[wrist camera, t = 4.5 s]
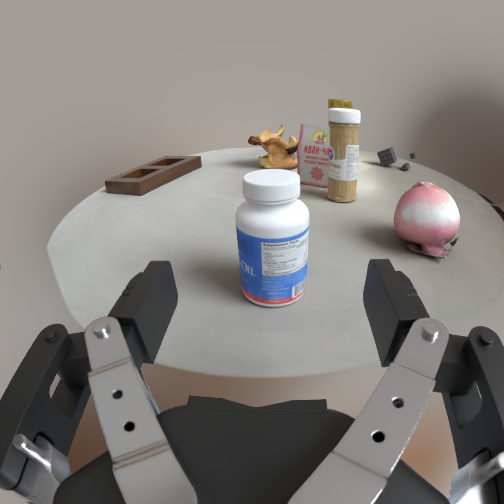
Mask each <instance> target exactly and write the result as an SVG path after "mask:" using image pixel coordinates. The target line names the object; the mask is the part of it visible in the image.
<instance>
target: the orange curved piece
mask: <svg viewBox="0 0 504 504" xmlns="http://www.w3.org/2000/svg"><path fill="white" fill-rule="evenodd" d="M283 131H284V126H283V125H281V126H280V127H279V129H278V132H277V133H276V134H274V133H272V132H271V129H266V130H264V131H263V132H262V133H261V134H260V138H259V137H258V136H251V137H250V138H249V140H248V143H249V144H252V145H261V146H262V147H263V148H264V150H265V151H267V152H268V155H267V156H263V157H259V160H260V164H261V167H263V168H266V169H284V170H290V169H295V168H297V167H298V166H297V165H298V164H297V161H296V160H295V157H294V155H293V153H294V152H296V151H297V149H298V143H299V142H297V140H296V139H295V138H294V137H293V136H291V137H289V143H287V142H285V141H284V140H282V138H281V137H282V134H283Z"/></svg>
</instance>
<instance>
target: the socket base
mask: <svg viewBox="0 0 504 504" xmlns="http://www.w3.org/2000/svg"><path fill="white" fill-rule="evenodd" d="M200 167H202V165H201V156H165V157H162V158H160V159H157V160H155V161H152V162H149V163H147V164H144V165H142V166H139V167H137V168H134V169H132V170H130V171H127V172H125V173H122V174H120V175H118V176H115V177H113V178H111V179H108V180H106V181H105V185H106V190H107V193H118V194H130V195H143V194H145V193H147V192H149V191H151V190H153V189H155V188H157V187H159V186H161V185H163V184H166V183H168V182H170V181H172V180H174V179H176V178H178V177H180V176H183V175H185V174H187V173H189V172H191V171H193V170H196V169H198V168H200Z"/></svg>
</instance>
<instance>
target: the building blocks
mask: <svg viewBox="0 0 504 504" xmlns="http://www.w3.org/2000/svg"><path fill="white" fill-rule="evenodd" d="M377 154H378V157H379V159H380V162H381V165H382V166H385V165H389V164H392V163H395V162H396V161H397V158H396V156H395V153H394V151H393V148H389V149H386V150H383V151H380V152H378V153H377ZM410 157H411V159H413V158H416V156H415V153H412V154H410ZM402 167H403V170H404V171H405V170H408V169H409V168H410V166H409V163H406V164H404V165H403V166H402Z"/></svg>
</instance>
